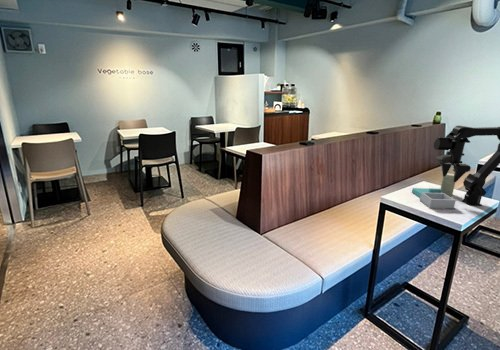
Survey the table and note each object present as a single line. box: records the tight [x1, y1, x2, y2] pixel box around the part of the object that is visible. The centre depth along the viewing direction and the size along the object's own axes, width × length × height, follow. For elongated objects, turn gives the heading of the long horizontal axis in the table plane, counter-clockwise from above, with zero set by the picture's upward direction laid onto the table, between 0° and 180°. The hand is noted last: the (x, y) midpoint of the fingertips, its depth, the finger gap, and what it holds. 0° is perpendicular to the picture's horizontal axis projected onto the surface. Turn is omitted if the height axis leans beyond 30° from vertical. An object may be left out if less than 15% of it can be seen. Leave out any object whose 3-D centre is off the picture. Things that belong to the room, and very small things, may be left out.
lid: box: [411, 187, 442, 198], centre depth 162 cm, size 13×11×6 cm
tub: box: [419, 192, 457, 210], centre depth 151 cm, size 12×10×5 cm
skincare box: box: [440, 172, 456, 197], centre depth 165 cm, size 6×4×12 cm
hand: (449, 179), depth 152 cm, fingers open, 9 cm apart
